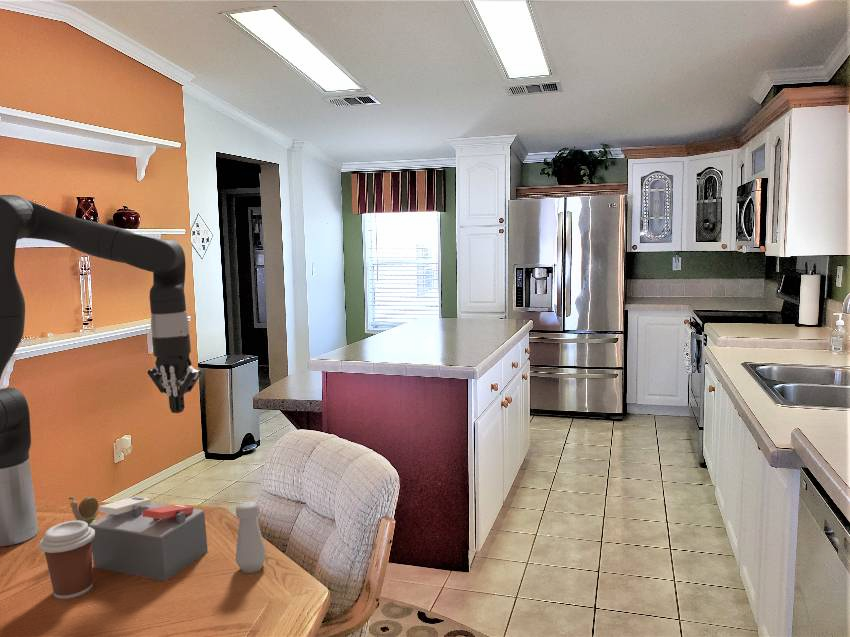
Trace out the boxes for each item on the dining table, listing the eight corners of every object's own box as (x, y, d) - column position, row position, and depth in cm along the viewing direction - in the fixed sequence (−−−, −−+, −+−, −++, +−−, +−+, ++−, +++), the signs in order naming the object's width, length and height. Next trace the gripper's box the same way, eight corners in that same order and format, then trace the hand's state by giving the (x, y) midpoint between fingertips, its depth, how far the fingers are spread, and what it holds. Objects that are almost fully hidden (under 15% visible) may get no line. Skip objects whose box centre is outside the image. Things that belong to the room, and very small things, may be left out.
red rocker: (142, 516, 125) (143, 509, 126) (175, 510, 134) (176, 503, 134) (160, 519, 124) (161, 511, 124) (192, 513, 132) (193, 506, 132)
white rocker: (99, 512, 129) (99, 505, 129) (134, 502, 138) (134, 495, 138) (116, 514, 128) (116, 508, 128) (150, 504, 136) (150, 498, 136)
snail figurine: (67, 550, 138) (60, 496, 136) (92, 536, 144) (86, 484, 142) (85, 554, 136) (79, 499, 134) (111, 540, 142) (105, 487, 140)
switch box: (93, 567, 130) (88, 515, 129) (139, 540, 141) (135, 492, 140) (165, 581, 123) (160, 526, 122) (207, 551, 135) (203, 501, 133)
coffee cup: (42, 588, 123) (34, 527, 121) (95, 571, 128) (88, 513, 127) (49, 609, 115) (41, 544, 114) (105, 590, 121) (98, 529, 119)
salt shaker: (258, 576, 124) (253, 511, 122) (230, 574, 125) (225, 509, 123) (271, 561, 129) (267, 498, 128) (245, 559, 131) (240, 497, 129)
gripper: (133, 335, 138) (140, 415, 140) (183, 336, 134) (190, 418, 136) (159, 330, 145) (165, 406, 147) (207, 331, 140) (213, 409, 143)
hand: (177, 412), depth 142 cm, fingers closed
